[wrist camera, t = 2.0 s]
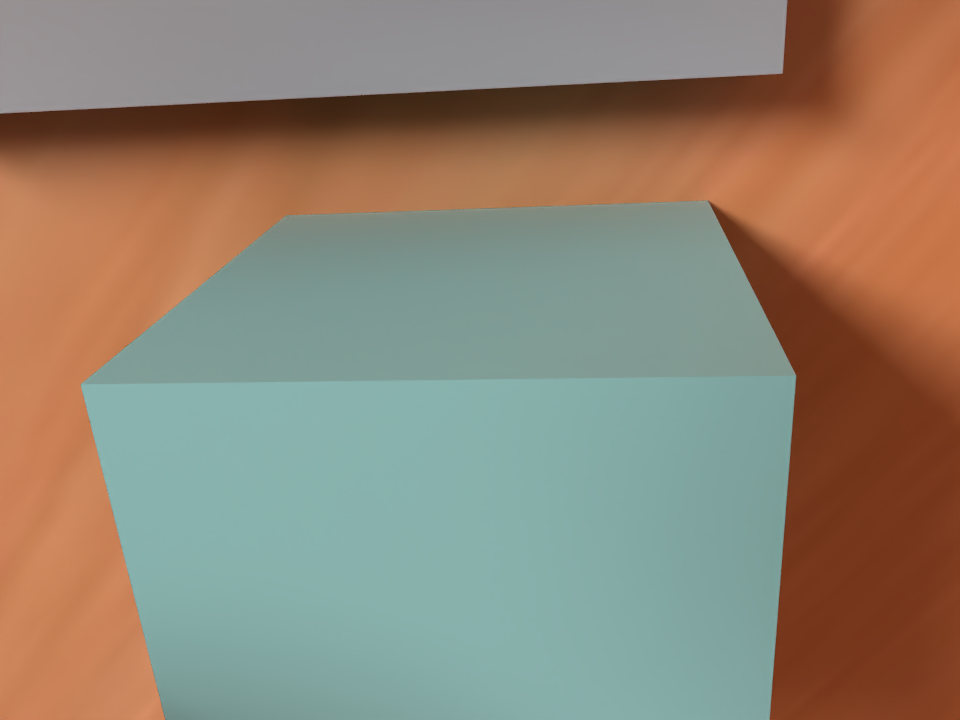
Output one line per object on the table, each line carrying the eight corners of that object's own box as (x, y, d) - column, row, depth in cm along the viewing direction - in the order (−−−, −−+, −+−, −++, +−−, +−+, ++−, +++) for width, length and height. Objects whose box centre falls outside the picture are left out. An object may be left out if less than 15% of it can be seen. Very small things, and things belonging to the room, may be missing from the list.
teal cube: (695, 561, 13) (756, 902, 8) (338, 557, 13) (203, 871, 9) (706, 198, 11) (795, 375, 6) (288, 214, 11) (79, 384, 7)
